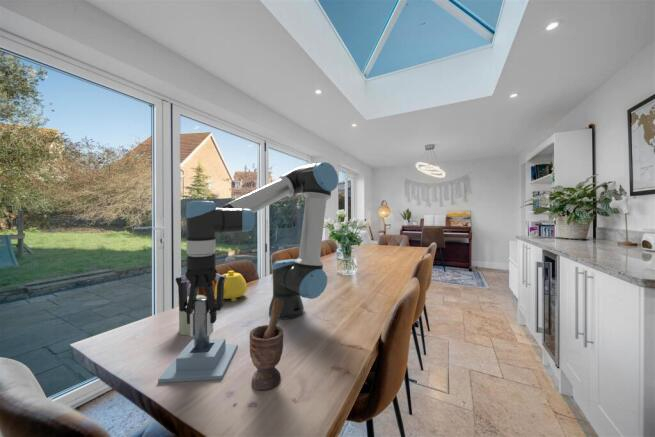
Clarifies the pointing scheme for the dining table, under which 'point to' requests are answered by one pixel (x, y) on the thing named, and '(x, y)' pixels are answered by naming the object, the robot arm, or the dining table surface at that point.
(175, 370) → the socket block
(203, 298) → the peg
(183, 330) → the can
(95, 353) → the dining table surface
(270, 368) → the mortar and pestle
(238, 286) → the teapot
